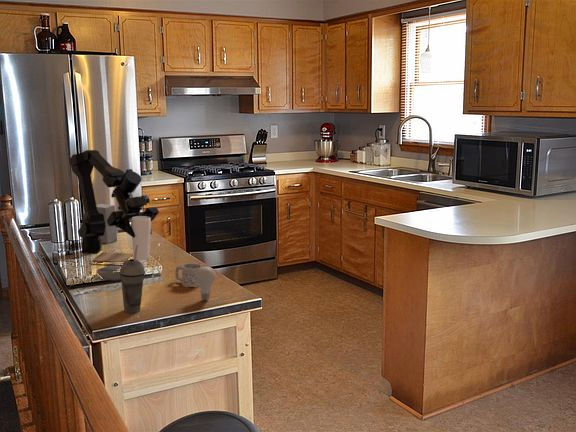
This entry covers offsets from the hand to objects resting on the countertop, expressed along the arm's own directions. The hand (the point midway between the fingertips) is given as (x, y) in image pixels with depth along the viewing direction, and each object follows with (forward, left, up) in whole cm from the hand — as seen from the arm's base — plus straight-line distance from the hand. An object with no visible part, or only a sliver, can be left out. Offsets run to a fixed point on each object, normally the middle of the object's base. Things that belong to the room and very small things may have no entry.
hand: (142, 235), depth 211 cm
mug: (+18, -12, -14) cm, 25 cm away
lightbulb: (+26, -28, -13) cm, 40 cm away
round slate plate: (-8, -6, -13) cm, 16 cm away
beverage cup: (+6, -40, -13) cm, 42 cm away
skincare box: (-26, +41, -14) cm, 50 cm away
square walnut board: (-14, +12, -13) cm, 23 cm away
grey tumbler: (-1, +1, -9) cm, 9 cm away
